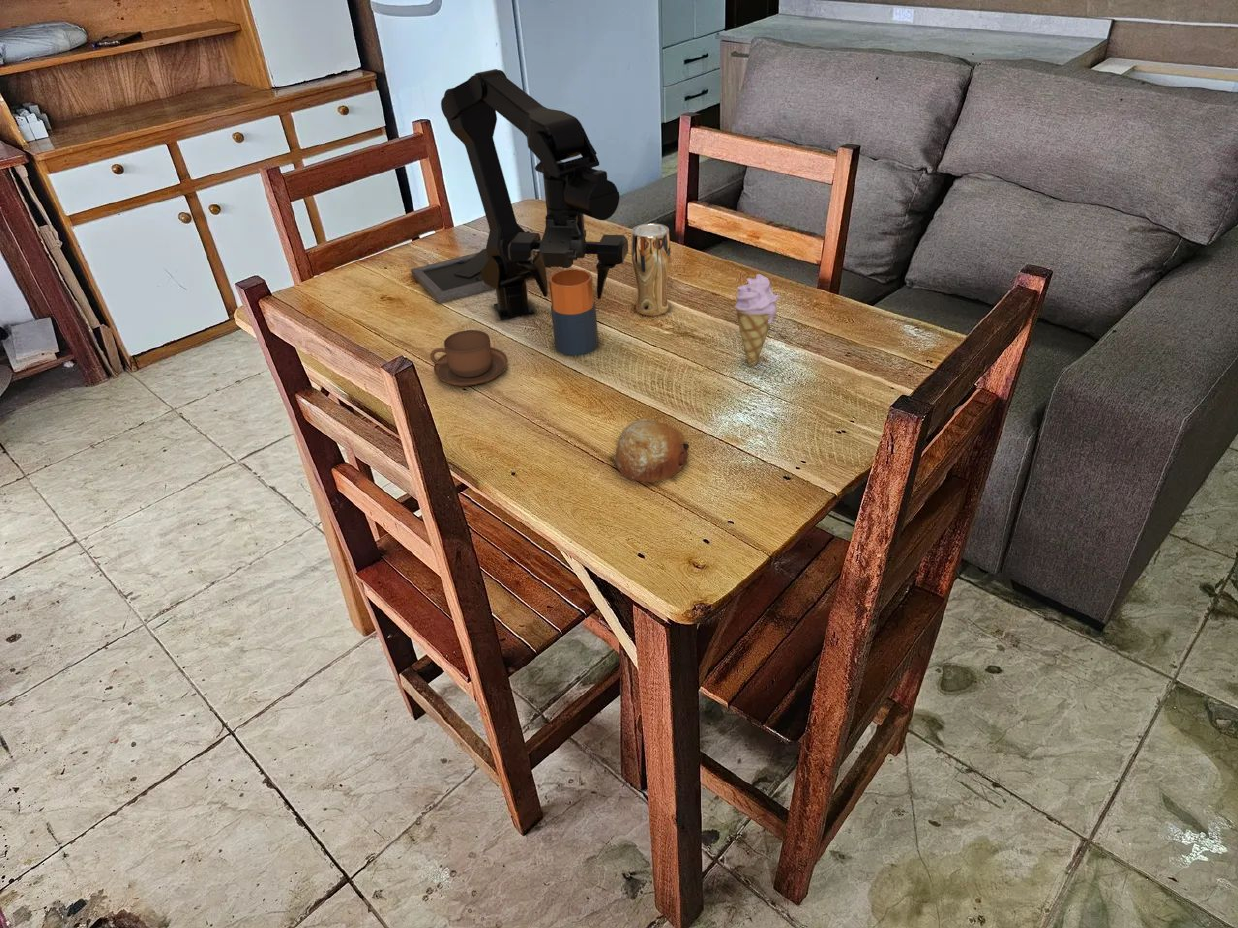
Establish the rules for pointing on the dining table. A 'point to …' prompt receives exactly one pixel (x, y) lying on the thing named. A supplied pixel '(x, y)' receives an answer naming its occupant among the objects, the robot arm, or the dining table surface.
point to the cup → (571, 291)
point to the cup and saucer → (468, 359)
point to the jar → (575, 332)
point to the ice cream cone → (755, 314)
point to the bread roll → (650, 451)
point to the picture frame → (454, 277)
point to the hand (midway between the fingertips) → (572, 297)
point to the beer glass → (651, 267)
